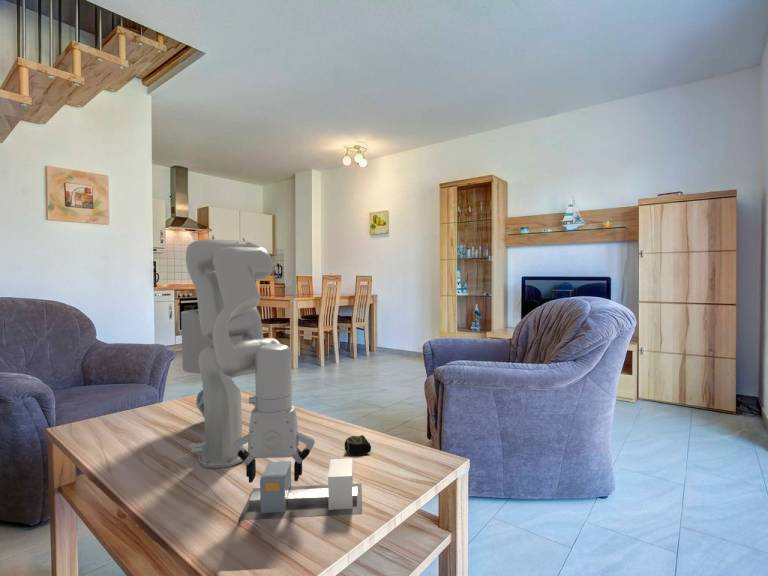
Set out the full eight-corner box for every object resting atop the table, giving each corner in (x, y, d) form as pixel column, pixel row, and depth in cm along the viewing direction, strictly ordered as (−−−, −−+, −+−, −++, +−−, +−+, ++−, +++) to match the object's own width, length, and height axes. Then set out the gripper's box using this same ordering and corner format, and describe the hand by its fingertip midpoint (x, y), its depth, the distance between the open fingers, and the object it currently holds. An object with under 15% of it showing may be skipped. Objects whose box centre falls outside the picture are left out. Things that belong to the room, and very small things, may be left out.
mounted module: (328, 509, 85) (328, 477, 85) (331, 489, 93) (330, 459, 93) (352, 508, 85) (352, 475, 85) (352, 488, 93) (352, 458, 93)
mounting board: (238, 524, 82) (238, 519, 82) (253, 492, 94) (253, 488, 94) (362, 518, 83) (362, 513, 83) (361, 487, 95) (361, 483, 95)
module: (260, 513, 84) (259, 480, 84) (269, 492, 92) (268, 461, 92) (285, 512, 84) (284, 479, 84) (291, 491, 92) (290, 460, 92)
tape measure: (371, 456, 112) (371, 442, 112) (347, 459, 110) (347, 446, 110) (365, 446, 119) (365, 433, 118) (342, 449, 116) (342, 436, 116)
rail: (248, 507, 86) (248, 500, 86) (253, 498, 90) (252, 491, 90) (357, 502, 88) (357, 495, 88) (357, 493, 91) (357, 486, 91)
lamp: (183, 416, 144) (180, 309, 143) (246, 406, 154) (243, 306, 153) (186, 438, 125) (182, 315, 124) (257, 425, 135) (254, 311, 134)
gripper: (227, 409, 83) (228, 489, 84) (312, 407, 84) (312, 487, 85) (238, 396, 91) (239, 471, 92) (316, 395, 92) (316, 469, 93)
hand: (274, 478), depth 89 cm, fingers open, 9 cm apart
